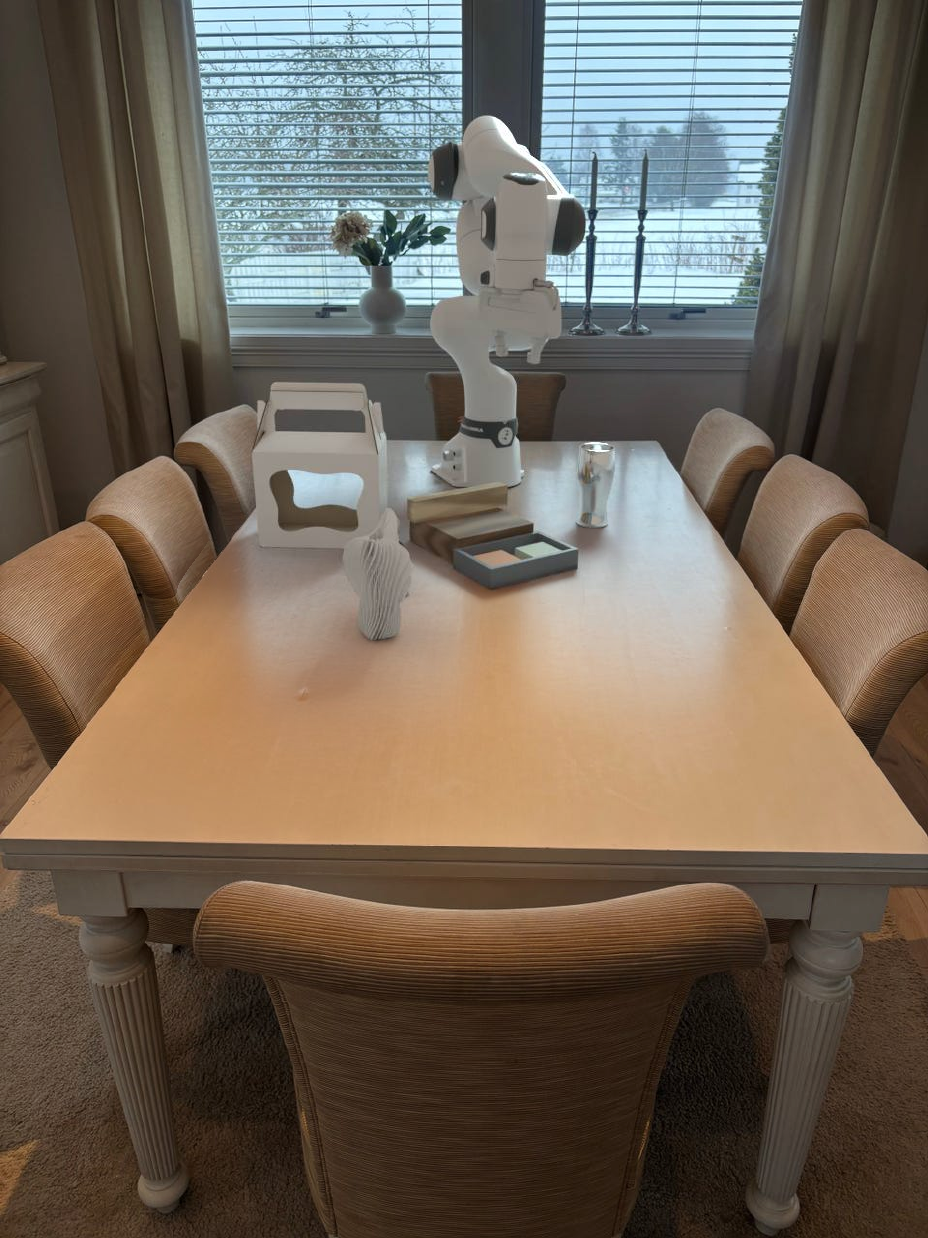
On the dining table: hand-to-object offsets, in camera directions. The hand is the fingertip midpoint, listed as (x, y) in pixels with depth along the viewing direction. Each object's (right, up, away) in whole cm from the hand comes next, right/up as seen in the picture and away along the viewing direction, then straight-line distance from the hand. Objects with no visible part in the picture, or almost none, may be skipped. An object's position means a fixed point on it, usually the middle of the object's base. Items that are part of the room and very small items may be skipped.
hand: (517, 359), depth 166 cm
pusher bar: (-10, -27, +3) cm, 29 cm away
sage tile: (+3, -34, -8) cm, 36 cm away
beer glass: (+15, -28, +15) cm, 35 cm away
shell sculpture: (-21, -49, -33) cm, 62 cm away
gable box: (-35, -31, +6) cm, 47 cm away
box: (-1, -38, -8) cm, 39 cm away
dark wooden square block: (-8, -33, +2) cm, 34 cm away
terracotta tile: (-4, -36, -12) cm, 38 cm away
